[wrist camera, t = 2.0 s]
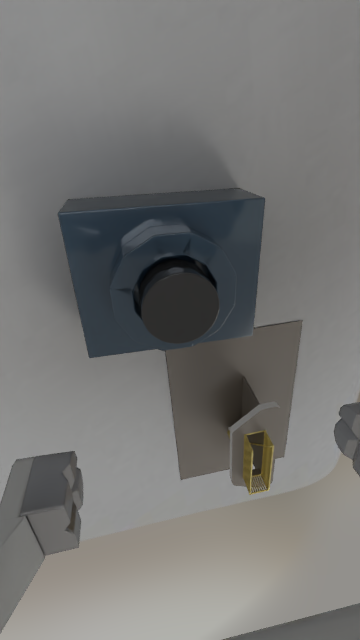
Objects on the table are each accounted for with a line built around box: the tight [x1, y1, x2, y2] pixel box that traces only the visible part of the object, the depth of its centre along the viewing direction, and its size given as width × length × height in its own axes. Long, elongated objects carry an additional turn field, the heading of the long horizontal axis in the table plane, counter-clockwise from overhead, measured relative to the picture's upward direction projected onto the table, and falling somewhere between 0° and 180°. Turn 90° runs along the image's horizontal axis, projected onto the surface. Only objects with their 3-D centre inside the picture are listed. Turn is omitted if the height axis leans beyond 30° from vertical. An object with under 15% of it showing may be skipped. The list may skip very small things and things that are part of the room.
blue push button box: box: [58, 188, 265, 358], centre depth 20 cm, size 11×9×6 cm
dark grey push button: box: [138, 259, 220, 344], centre depth 17 cm, size 4×4×2 cm
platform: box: [166, 320, 303, 495], centre depth 28 cm, size 12×18×6 cm, turn 4°
